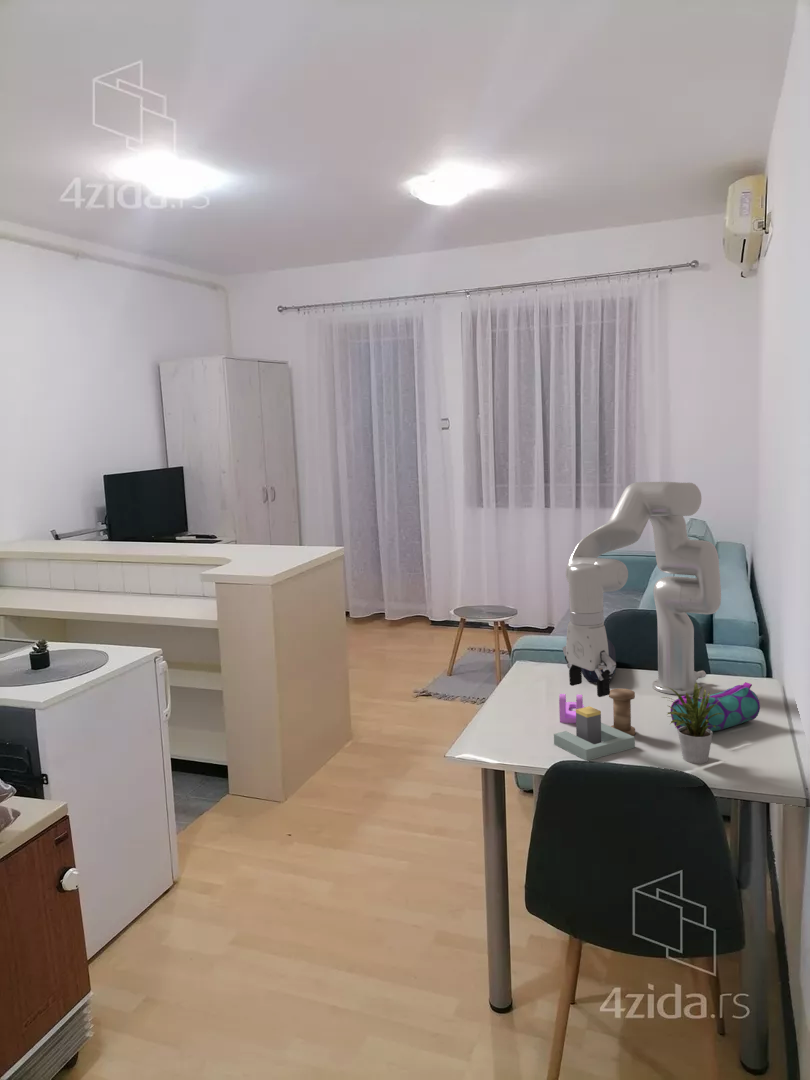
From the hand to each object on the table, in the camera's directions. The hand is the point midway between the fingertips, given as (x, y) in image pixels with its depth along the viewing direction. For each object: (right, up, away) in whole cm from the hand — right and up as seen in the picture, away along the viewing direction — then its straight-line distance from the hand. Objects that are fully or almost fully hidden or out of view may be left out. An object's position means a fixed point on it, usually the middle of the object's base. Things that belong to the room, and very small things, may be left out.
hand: (589, 689), depth 177 cm
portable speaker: (+16, -6, +54) cm, 57 cm away
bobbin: (+9, -12, +7) cm, 16 cm away
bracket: (+1, -11, +21) cm, 23 cm away
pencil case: (+32, -11, +7) cm, 35 cm away
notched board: (+1, -13, 0) cm, 13 cm away
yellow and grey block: (0, -13, +1) cm, 13 cm away
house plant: (+20, -13, -9) cm, 26 cm away
